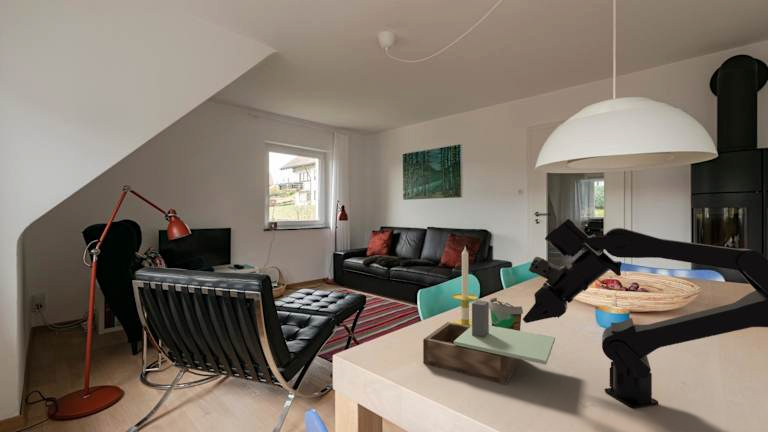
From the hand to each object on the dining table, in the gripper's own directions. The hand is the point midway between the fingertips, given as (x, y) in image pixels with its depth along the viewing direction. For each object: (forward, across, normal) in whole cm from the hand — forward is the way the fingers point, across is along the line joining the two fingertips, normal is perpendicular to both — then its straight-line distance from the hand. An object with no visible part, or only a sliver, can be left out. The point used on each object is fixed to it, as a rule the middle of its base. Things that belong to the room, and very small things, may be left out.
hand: (527, 316), depth 79 cm
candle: (+26, -24, -8) cm, 37 cm away
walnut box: (+19, 0, 0) cm, 19 cm away
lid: (+9, 0, +1) cm, 9 cm away
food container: (+18, -22, +1) cm, 29 cm away
